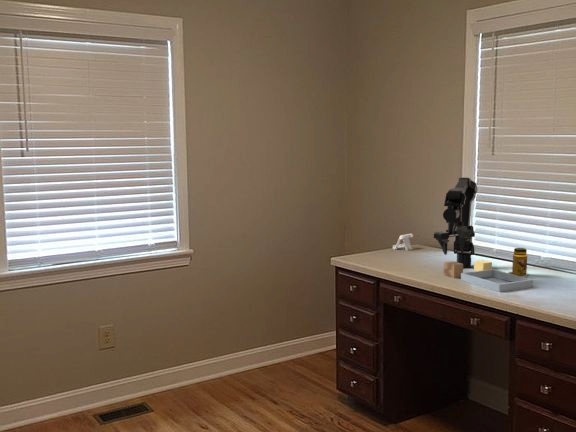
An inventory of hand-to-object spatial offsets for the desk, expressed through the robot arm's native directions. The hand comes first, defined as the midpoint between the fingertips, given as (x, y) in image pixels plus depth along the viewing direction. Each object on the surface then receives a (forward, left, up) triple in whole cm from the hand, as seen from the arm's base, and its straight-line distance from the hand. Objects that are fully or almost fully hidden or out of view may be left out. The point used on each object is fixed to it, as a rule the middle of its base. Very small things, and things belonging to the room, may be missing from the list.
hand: (453, 253), depth 289 cm
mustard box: (0, +17, -10) cm, 20 cm away
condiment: (+11, +27, -10) cm, 31 cm away
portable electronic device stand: (-62, +18, -10) cm, 65 cm away
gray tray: (+19, +7, -10) cm, 23 cm away
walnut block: (0, 0, -10) cm, 10 cm away
